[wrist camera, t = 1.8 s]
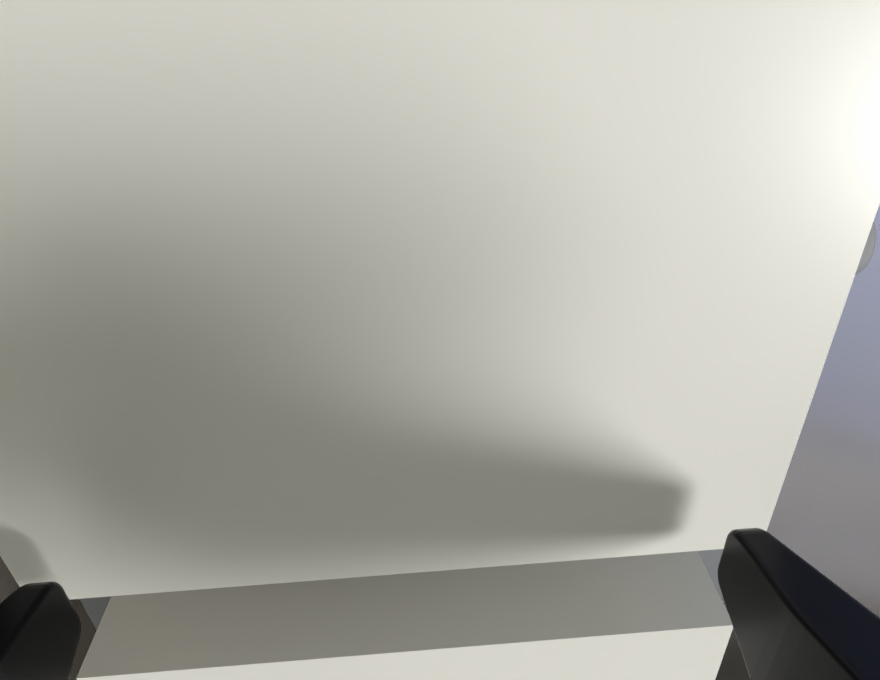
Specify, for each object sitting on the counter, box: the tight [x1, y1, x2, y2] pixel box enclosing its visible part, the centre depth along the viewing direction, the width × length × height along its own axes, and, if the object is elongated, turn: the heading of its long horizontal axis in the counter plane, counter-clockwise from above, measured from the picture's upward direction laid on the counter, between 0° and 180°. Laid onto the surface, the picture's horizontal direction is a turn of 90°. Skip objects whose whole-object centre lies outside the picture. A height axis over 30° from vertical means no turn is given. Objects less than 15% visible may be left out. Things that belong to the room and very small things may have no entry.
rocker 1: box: [0, 0, 880, 600], centre depth 8 cm, size 9×12×2 cm
